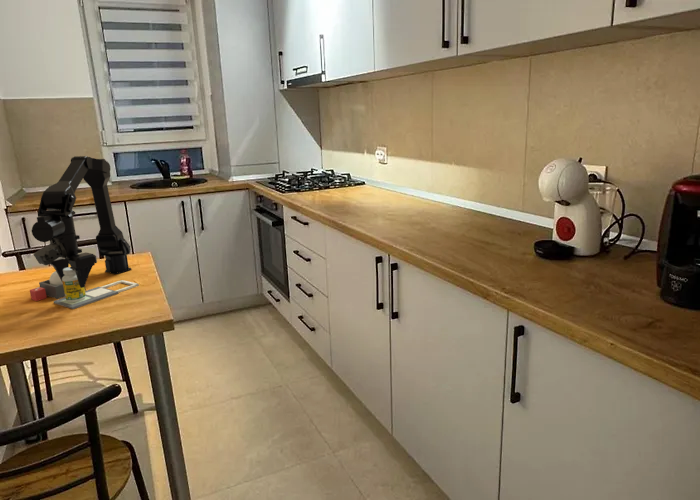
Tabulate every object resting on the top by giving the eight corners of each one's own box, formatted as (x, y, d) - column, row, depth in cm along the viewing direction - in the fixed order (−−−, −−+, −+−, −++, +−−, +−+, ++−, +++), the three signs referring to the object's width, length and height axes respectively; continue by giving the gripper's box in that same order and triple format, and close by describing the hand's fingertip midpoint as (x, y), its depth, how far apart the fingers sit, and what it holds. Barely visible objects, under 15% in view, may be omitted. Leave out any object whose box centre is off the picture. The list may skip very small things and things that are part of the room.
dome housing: (69, 285, 166) (67, 274, 165) (85, 289, 162) (83, 278, 161) (27, 298, 156) (25, 286, 155) (43, 303, 151) (41, 291, 150)
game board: (120, 281, 169) (120, 279, 169) (140, 286, 164) (139, 283, 164) (53, 303, 151) (53, 300, 151) (73, 309, 146) (72, 306, 146)
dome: (67, 284, 165) (64, 265, 163) (80, 288, 161) (76, 268, 159) (45, 291, 159) (41, 271, 157) (58, 294, 155) (54, 274, 154)
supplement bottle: (86, 294, 155) (81, 264, 153) (86, 300, 150) (80, 269, 148) (66, 298, 153) (60, 267, 150) (65, 303, 148) (59, 272, 146)
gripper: (17, 235, 144) (28, 288, 148) (54, 243, 135) (64, 298, 139) (56, 227, 153) (65, 277, 157) (93, 234, 144) (102, 286, 148)
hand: (73, 284), depth 150 cm, fingers open, 9 cm apart
